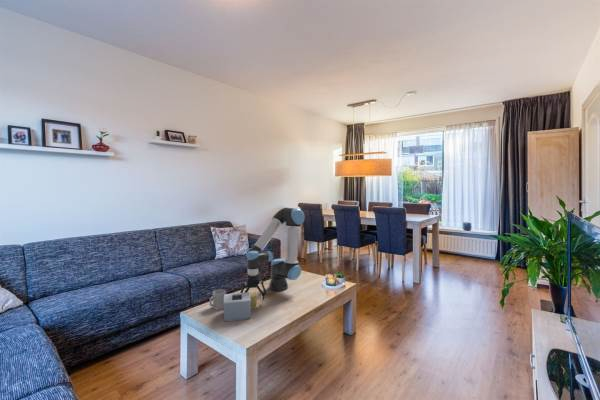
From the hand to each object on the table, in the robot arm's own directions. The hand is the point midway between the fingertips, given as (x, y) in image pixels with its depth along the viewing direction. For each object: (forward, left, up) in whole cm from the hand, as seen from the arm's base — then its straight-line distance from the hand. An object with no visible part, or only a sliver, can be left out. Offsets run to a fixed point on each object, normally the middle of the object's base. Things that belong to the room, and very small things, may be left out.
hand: (253, 305), depth 201 cm
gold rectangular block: (0, 0, 0) cm, 0 cm away
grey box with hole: (+11, +12, 0) cm, 17 cm away
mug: (+24, -1, 0) cm, 24 cm away
